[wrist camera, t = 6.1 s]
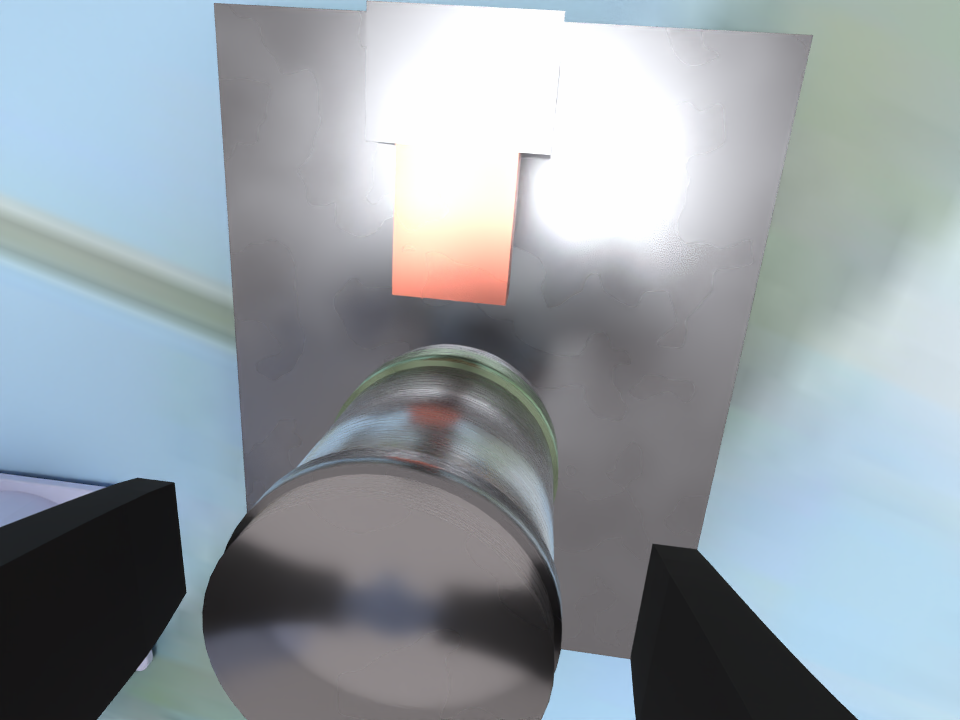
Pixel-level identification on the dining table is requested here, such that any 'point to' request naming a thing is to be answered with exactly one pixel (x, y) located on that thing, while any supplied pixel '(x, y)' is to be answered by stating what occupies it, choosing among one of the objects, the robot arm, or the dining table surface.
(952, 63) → the dining table surface
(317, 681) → the silver metal canister
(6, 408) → the dining table surface
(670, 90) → the stand
